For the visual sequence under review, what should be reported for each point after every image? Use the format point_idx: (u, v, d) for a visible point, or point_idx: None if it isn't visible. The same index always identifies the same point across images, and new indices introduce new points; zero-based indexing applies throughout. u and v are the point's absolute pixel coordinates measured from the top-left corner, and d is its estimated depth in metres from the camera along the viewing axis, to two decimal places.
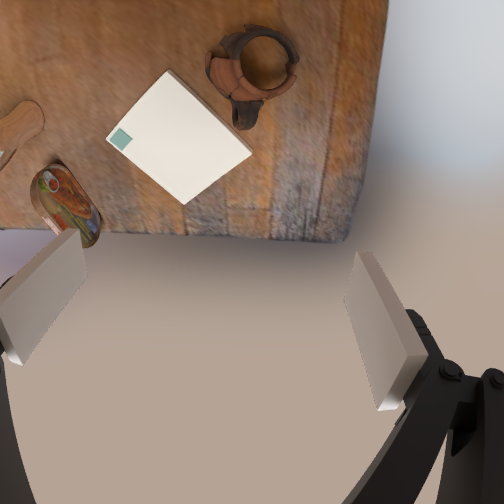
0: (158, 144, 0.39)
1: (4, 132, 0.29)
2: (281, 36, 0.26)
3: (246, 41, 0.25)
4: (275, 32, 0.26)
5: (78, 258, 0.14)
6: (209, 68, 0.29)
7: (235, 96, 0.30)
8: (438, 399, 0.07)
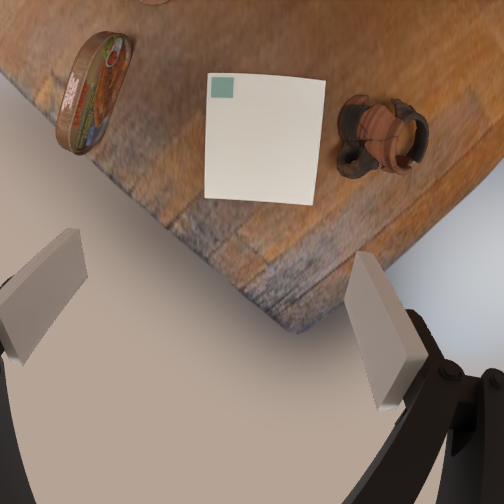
0: (248, 125, 0.34)
1: None
2: (427, 136, 0.30)
3: (416, 118, 0.28)
4: (428, 130, 0.30)
5: (78, 258, 0.14)
6: (367, 107, 0.30)
7: (371, 145, 0.30)
8: (438, 399, 0.07)
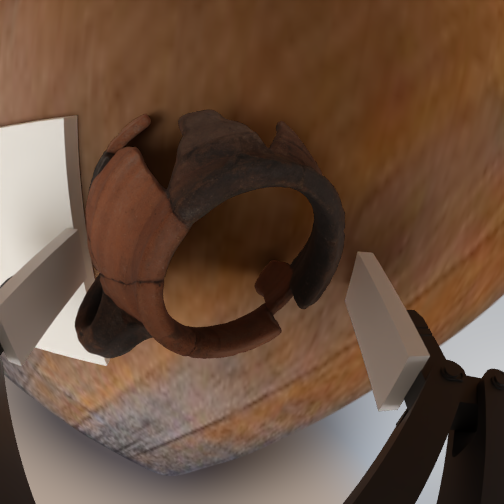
0: None
1: None
2: (339, 228, 0.10)
3: (258, 184, 0.08)
4: (338, 210, 0.10)
5: (77, 258, 0.14)
6: (104, 163, 0.09)
7: (109, 291, 0.10)
8: (439, 400, 0.07)
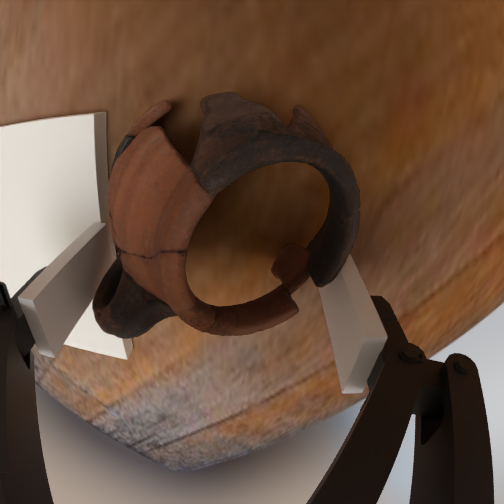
0: None
1: None
2: (354, 206, 0.10)
3: (279, 158, 0.08)
4: (354, 188, 0.10)
5: (105, 252, 0.15)
6: (127, 143, 0.10)
7: (130, 267, 0.10)
8: (399, 382, 0.07)
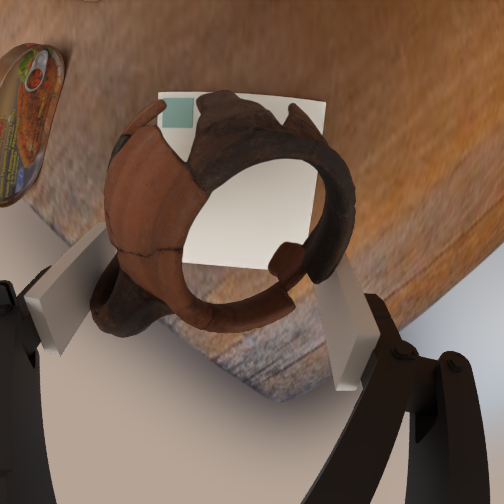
0: None
1: None
2: (350, 203, 0.11)
3: (274, 155, 0.08)
4: (349, 185, 0.10)
5: (110, 251, 0.15)
6: (123, 142, 0.10)
7: (127, 265, 0.10)
8: (392, 379, 0.07)
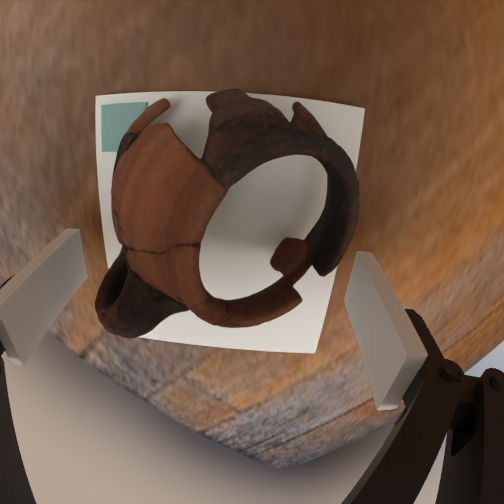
0: None
1: None
2: (354, 197, 0.11)
3: (288, 151, 0.08)
4: (354, 180, 0.11)
5: (78, 258, 0.14)
6: (131, 140, 0.10)
7: (138, 264, 0.10)
8: (438, 399, 0.07)
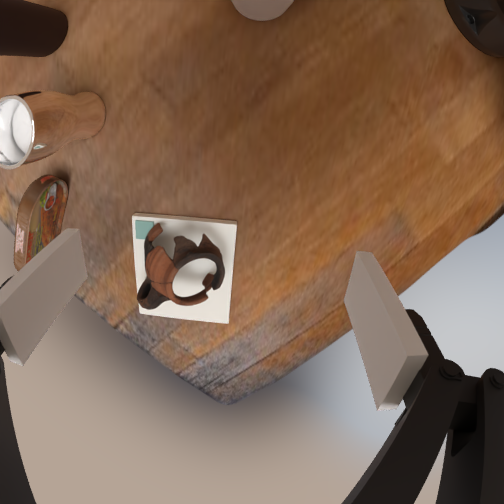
0: None
1: (71, 125, 0.26)
2: (221, 266, 0.36)
3: (194, 259, 0.33)
4: (219, 261, 0.35)
5: (78, 258, 0.14)
6: (151, 248, 0.35)
7: (155, 285, 0.35)
8: (438, 399, 0.07)
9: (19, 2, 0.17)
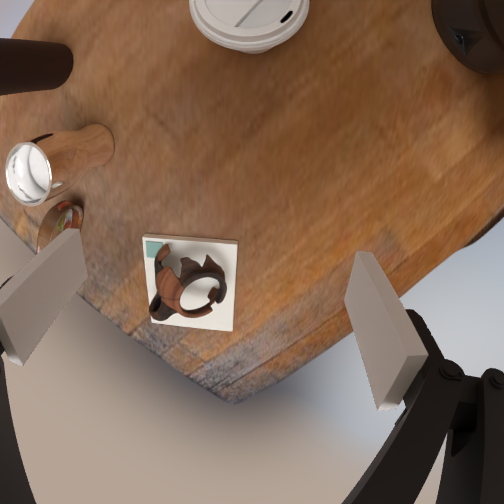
0: None
1: (83, 162, 0.30)
2: (223, 282, 0.40)
3: (198, 278, 0.38)
4: (221, 279, 0.40)
5: (78, 258, 0.14)
6: (161, 268, 0.39)
7: (164, 301, 0.40)
8: (438, 399, 0.07)
9: (24, 44, 0.22)
